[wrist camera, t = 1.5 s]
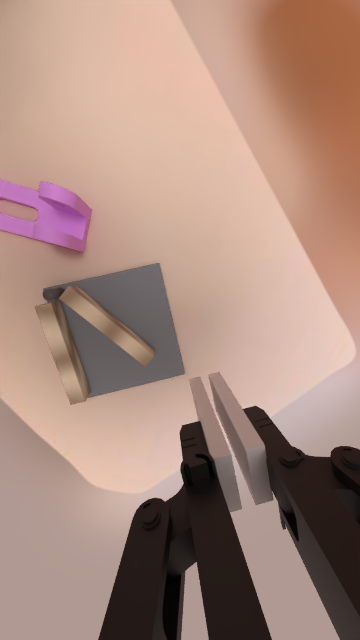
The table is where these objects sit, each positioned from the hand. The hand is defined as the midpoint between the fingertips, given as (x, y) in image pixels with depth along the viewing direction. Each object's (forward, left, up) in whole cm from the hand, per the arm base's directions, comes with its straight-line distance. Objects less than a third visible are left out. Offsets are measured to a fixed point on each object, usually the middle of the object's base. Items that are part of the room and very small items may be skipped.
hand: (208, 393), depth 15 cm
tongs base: (-2, -16, -18) cm, 24 cm away
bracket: (-19, -15, -19) cm, 31 cm away
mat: (-1, -9, -18) cm, 21 cm away
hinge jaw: (-3, -9, -18) cm, 20 cm away
